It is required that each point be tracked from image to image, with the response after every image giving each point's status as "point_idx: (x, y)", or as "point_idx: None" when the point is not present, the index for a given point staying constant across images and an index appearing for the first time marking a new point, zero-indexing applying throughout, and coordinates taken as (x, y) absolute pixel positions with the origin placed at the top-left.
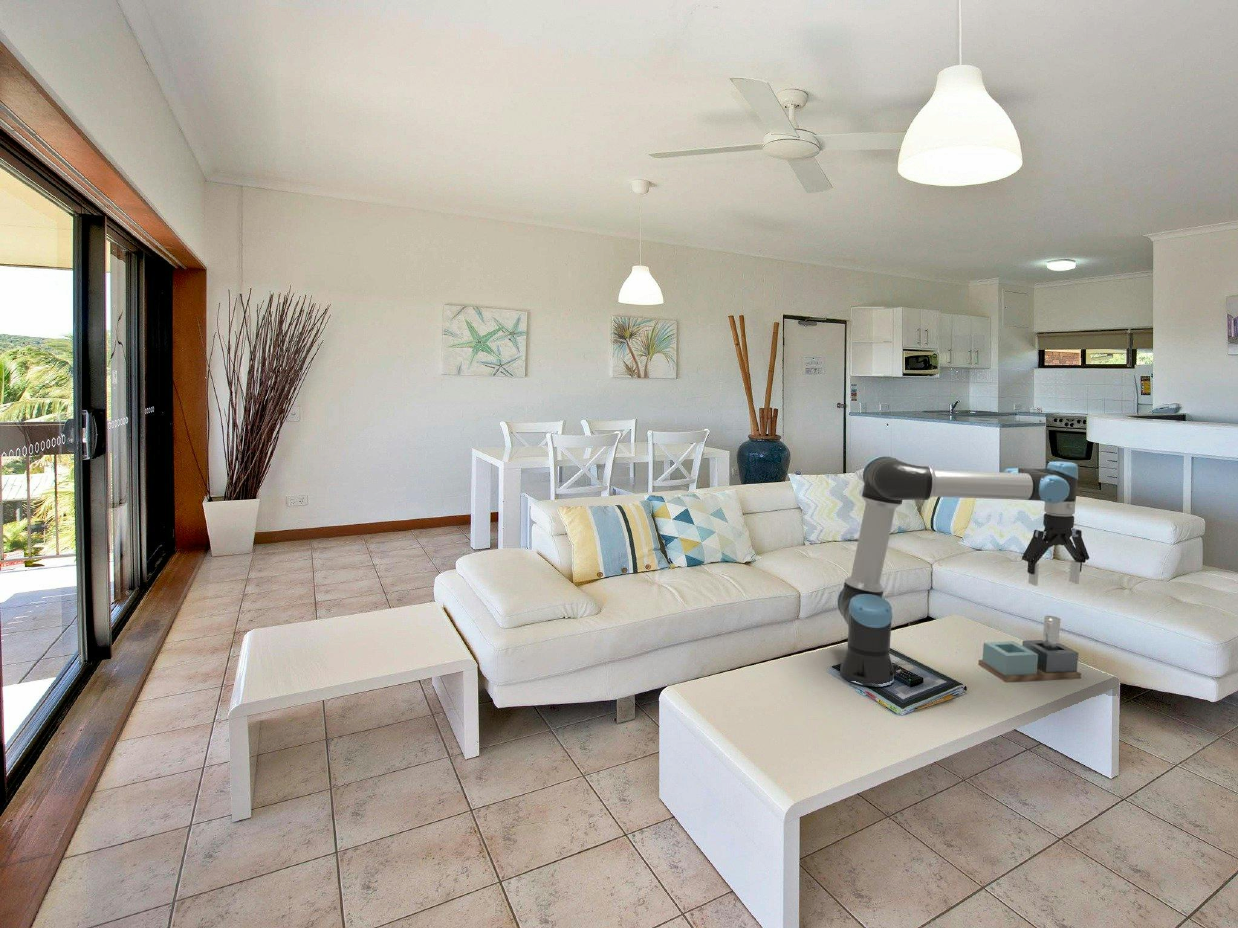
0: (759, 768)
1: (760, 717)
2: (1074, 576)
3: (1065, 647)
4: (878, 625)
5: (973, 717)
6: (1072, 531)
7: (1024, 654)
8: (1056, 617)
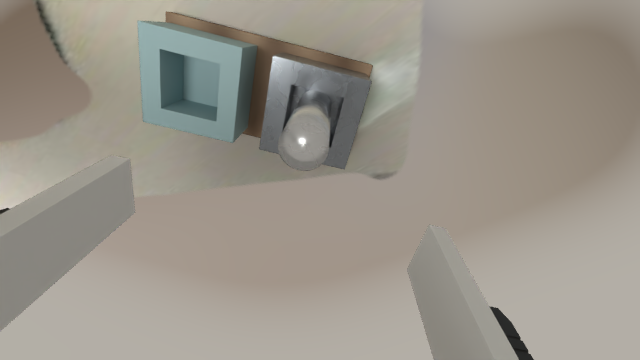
0: None
1: None
2: (426, 289)
3: (347, 136)
4: None
5: (32, 185)
6: None
7: (197, 130)
8: (323, 148)
